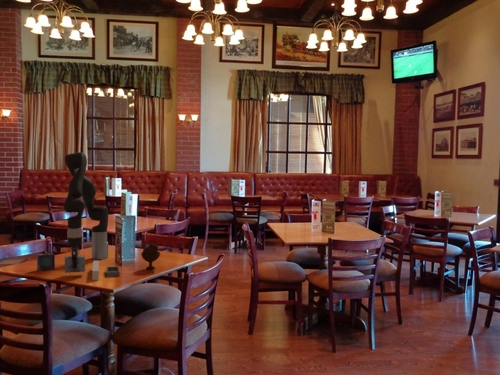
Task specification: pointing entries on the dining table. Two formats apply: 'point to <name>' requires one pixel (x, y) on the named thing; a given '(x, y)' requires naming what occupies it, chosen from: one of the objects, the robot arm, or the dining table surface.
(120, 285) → the dining table surface
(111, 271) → the cradle
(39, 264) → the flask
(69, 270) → the block
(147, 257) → the ice cream bowl
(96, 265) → the door board
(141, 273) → the dining table surface
